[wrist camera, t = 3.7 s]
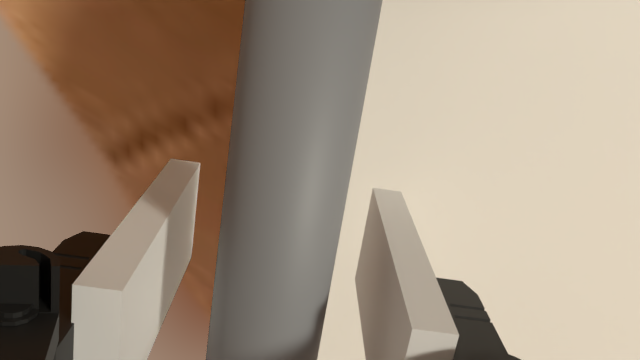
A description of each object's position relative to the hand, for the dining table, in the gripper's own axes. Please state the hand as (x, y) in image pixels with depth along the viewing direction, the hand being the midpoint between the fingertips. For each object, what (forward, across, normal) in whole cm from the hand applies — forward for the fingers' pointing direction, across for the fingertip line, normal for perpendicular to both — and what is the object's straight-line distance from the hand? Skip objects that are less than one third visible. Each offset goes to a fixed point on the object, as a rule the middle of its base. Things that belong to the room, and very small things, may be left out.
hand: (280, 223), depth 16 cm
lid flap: (+3, +7, 0) cm, 7 cm away
